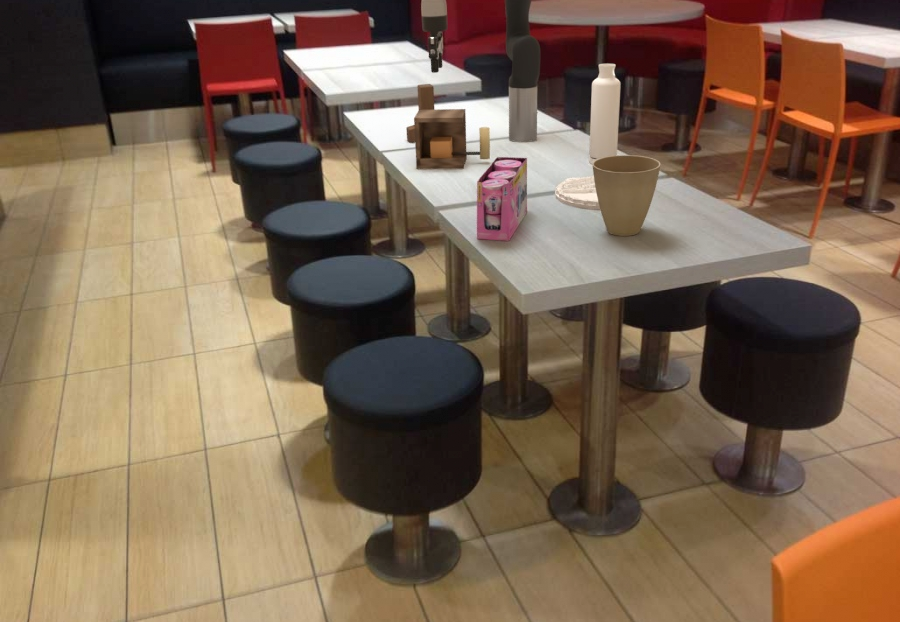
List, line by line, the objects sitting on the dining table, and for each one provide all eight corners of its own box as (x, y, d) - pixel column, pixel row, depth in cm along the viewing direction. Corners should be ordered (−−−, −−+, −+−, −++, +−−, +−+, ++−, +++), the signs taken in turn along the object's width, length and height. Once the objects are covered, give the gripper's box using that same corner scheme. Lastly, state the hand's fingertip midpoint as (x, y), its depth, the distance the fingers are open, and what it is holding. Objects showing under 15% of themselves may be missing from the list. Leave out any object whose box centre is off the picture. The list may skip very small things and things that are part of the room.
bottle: (614, 166, 243) (619, 67, 231) (586, 164, 246) (590, 66, 234) (618, 159, 250) (623, 62, 238) (591, 157, 252) (595, 62, 241)
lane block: (490, 155, 253) (490, 125, 249) (489, 161, 248) (489, 130, 244) (433, 156, 255) (431, 126, 251) (430, 161, 249) (429, 131, 245)
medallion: (586, 216, 204) (586, 207, 203) (532, 189, 226) (532, 180, 225) (665, 202, 212) (665, 193, 211) (605, 177, 235) (605, 168, 234)
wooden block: (409, 143, 277) (406, 87, 270) (406, 140, 281) (403, 85, 274) (436, 140, 279) (433, 85, 272) (432, 137, 283) (430, 83, 276)
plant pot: (623, 216, 202) (627, 151, 195) (669, 232, 190) (675, 164, 184) (576, 229, 195) (578, 162, 188) (620, 246, 183) (624, 176, 177)
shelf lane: (466, 158, 257) (465, 109, 251) (463, 168, 246) (462, 117, 240) (421, 158, 258) (419, 109, 252) (416, 168, 248) (414, 118, 241)
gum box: (508, 243, 188) (508, 185, 182) (474, 241, 190) (473, 183, 184) (527, 210, 209) (528, 157, 203) (496, 209, 211) (496, 156, 205)
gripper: (443, 16, 240) (446, 73, 247) (449, 11, 253) (452, 66, 260) (418, 16, 241) (421, 74, 248) (425, 11, 254) (428, 66, 261)
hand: (437, 70), depth 254 cm, fingers open, 8 cm apart
